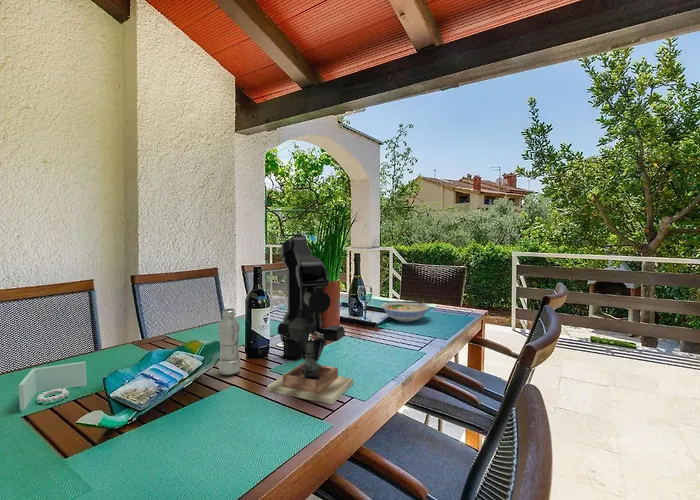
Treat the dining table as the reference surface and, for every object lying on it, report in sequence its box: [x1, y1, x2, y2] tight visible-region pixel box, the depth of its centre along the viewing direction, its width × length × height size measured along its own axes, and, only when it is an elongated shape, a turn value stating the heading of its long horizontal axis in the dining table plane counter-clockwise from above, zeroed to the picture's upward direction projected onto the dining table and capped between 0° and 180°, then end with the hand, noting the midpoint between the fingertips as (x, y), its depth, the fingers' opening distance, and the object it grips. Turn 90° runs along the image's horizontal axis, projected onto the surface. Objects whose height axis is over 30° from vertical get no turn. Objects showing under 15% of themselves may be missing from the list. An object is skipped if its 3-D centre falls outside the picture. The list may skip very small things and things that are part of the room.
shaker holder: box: [266, 362, 354, 405], centre depth 108 cm, size 20×14×4 cm
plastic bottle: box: [217, 308, 242, 376], centre depth 118 cm, size 6×7×20 cm
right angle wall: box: [17, 361, 87, 411], centre depth 101 cm, size 12×12×8 cm
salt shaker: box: [301, 337, 321, 380], centre depth 108 cm, size 6×6×12 cm
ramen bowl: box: [380, 300, 432, 323], centre depth 184 cm, size 25×23×8 cm
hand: (310, 359), depth 108 cm, fingers closed on salt shaker, 4 cm apart
